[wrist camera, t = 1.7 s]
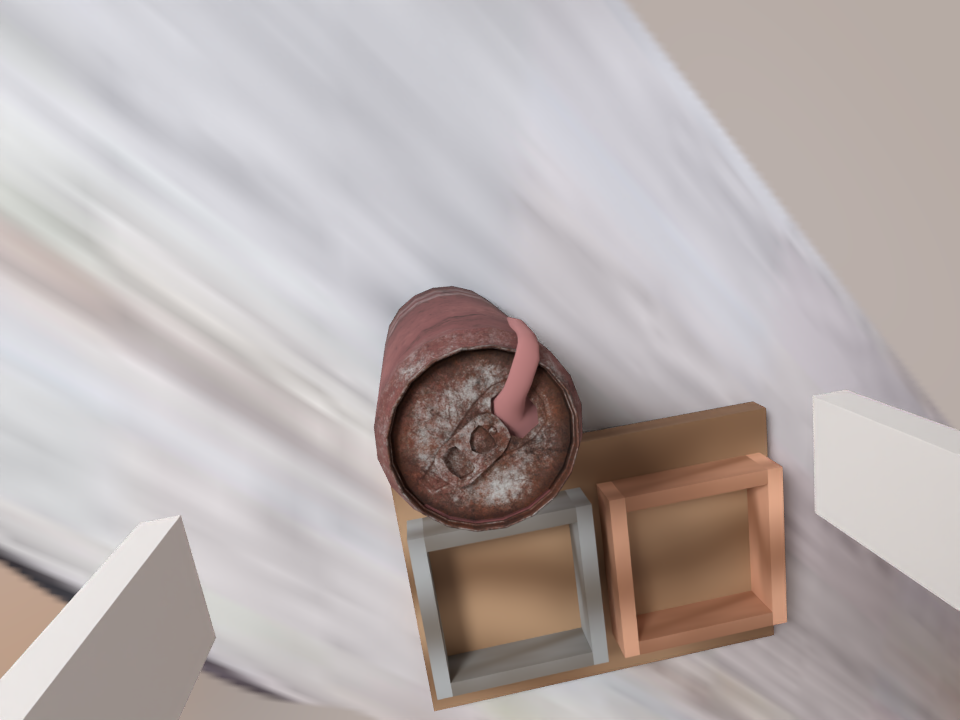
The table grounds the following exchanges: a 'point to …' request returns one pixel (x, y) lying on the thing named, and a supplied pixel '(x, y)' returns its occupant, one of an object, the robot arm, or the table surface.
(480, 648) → the board
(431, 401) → the can
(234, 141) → the table surface
